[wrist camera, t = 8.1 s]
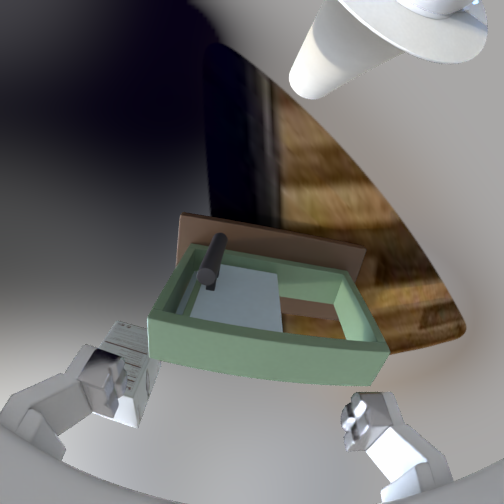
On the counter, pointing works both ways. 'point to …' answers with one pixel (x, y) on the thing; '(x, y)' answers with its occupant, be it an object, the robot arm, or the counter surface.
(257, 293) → the sliding pane
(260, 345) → the window frame
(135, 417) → the white packaging box
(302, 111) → the counter surface
